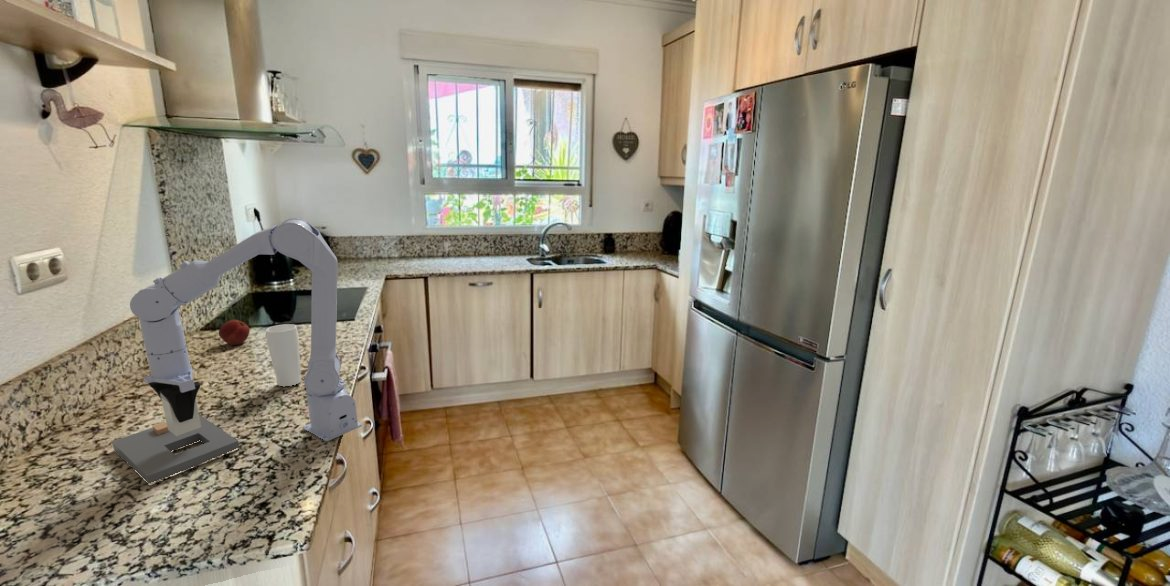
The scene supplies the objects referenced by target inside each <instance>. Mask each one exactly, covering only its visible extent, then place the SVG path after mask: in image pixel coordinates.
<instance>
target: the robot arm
mask: <svg viewBox="0 0 1170 586" xmlns="http://www.w3.org/2000/svg"><path fill="white" fill-rule="evenodd" d="M277 252H278V253H280V254H282V255H284V256H285V257H289V258H292V259H294V260H296V261H298V262H300V264H302V265H303V266H304V267H306V268H307V269H309V271H311V307H310V308H311V311H310V313H311V315H310V317H311V319H310V320H311V323H310V325H311V327H310V328H311V329H310V332H311V334H310V355H309V356H310V357H309V360H308V362H307V363H308V364H307V371H306V374H305V376H304V380H303V383H304V386H305V388H306V389H305V393H306V400H307V406H308V407H307V408H308V414H309V421H310V422H309V423H308V424H305V425H304V426H302V429H303V428H304V429H305V431H306V430H307V432H308V431H309V432H308V433H310V432H311V433H313V434H315V435H316V436H315V435H314V436H315V437H317V436H318V437H317V438H319V439H320V438H321V440H322V439H323V440H322V441H324V442H330V441H332V440H333V439H336V438H338V437H340V436H341V437H342V436H343V435H345V434H347V433H350V432H351V431H354V430H356V429H359V428H361V427H362V426H363V423H361V422H359V421H358V415H357V408H356V407H357V405H356V402H355V399H354V398H353V397H352V396H351V395H350V394H349V393H348V392H347V390H346V384H345V381H344V380H343V378H342V377H340V374H341V373H340V372H341V368H342V362H341V359H340V358H339V356H338V353H337V314H338V313H337V311H338V310H337V308H338V307H337V306H338V301H337V300H338V266H339V265H338V258H337V256H336V254H335V253H334V252H333V250H332V249H331V248H330V246H329V245H328V243H327V241H326V240H325V239H324V237H323V235H322V234H321V232H320V230H318V229H317V228H316V227H314V226H313V224H310V223H309V222H308V221H306V220H305V219H303V218H298V217H293V218H291V217H290V218H288V219H286V220H284V221H283V222H282V223H281V224H277V223H276V224H275V225H272V226H270V227H268V228H264V229H263V230H260V231H257V232H255V233H254V234H252V235H250V236H249V237H247V238H245V239H244V240H242V241H240V242H239V243H237V244H235V245H234V246H232V247H231V248H229V249H227V250H225V251H224V252H222V253H221V254H219V255H217V256H215V257H214V258H212V259H211V260H209V261H208V260H206V261H205V260H199V259H195V260H192V261H191V262H190V261H189V260H186V261H184V262H182V263H180V264H179V265H178V269H176V270H174V271H173V272H171V273H170V274H168V275H166V276H164V277H163V278H162V277H161V276H159V277H157V278H155V279H153V281H152V283H154V284H151V285H149V286H146V287H145V288H142V289H139V291H137V293H135V294H134V295H133V296H132V298H131V299H130V302H129V309H130V311H131V313H132V314H133V315H134V316H135V317H136V318H138V319H139V320H138V321H139V324H140V331H141V335H142V339H143V344H144V348H145V353H146V355H147V356H146V357H147V360H148V366H149V370H150V375H148V376H144V377H143V382H144V383H146V384H148V386H149V387H151V389H152V390H153V391H155V393H156V394H157V395H158V397H159V399H160V400H161V401H162V399H161V396H160V393H161V394H162V395H163V396H164V397H165V398H166V399H167V400H168V402H169V403H170V405H171V407H172V409H173V412H174V414H175V416H176V418H177V420H178V421H179V422H180V423H181V422H184V421H187V420H190V419H193V415H194V404H195V399H196V398H197V396H198V392H199V390H200V389H201V383H200V382H199V381H195V380H194V378H193V375H194V369H193V367H192V366H191V362H190V357H189V352H188V348H187V347H188V346H187V342H186V337H185V332H184V327H183V323H182V319H181V316H180V310H179V308H180V307H182V306H185V305H188V304H189V303H191V302H192V301H194V300H196V299H197V298H200V297H201V296H203V295H205V294H206V293H208V292H209V291H212V290H213V289H215V288H217V287H218V286H219V284H220V278H221V276H222V275H223V274H225V273H227V272H229V271H231V270H232V269H235V268H237V267H239V266H240V265H242V264H243V263H244V264H245V262H249V260H251V259H253V258H255V257H257V256H258V255H268V256H269V255H270V256H271V255H273V256H274V255H275V254H276V253H277ZM159 391H160V392H159ZM196 400H197V399H196ZM304 429H303V430H304ZM311 433H310V434H311ZM313 434H312V435H313Z"/></svg>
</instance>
